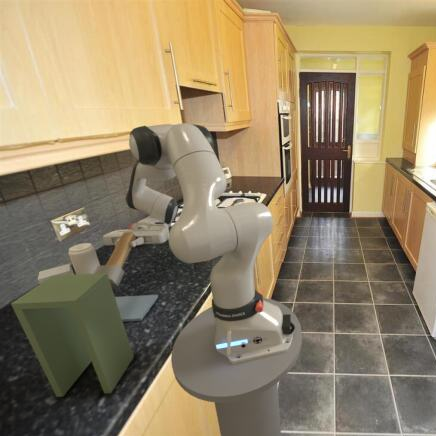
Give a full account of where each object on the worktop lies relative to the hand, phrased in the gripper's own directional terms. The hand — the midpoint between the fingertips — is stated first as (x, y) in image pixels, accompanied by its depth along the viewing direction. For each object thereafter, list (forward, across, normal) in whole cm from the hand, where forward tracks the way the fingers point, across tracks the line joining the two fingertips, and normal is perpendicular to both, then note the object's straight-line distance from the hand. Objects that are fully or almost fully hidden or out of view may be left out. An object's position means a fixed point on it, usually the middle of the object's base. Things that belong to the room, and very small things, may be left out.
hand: (124, 245), depth 88 cm
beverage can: (-20, -29, +19) cm, 40 cm away
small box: (0, -23, +21) cm, 31 cm away
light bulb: (-45, -21, +17) cm, 52 cm away
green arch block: (+30, +6, +23) cm, 38 cm away
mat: (+5, -1, +21) cm, 22 cm away
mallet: (+3, 0, +4) cm, 5 cm away
